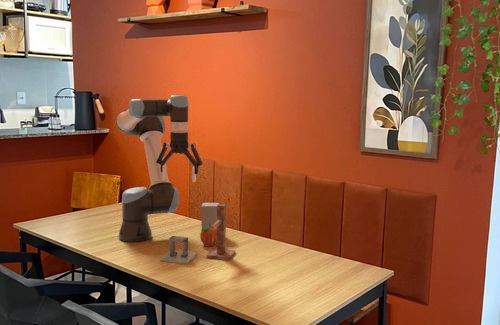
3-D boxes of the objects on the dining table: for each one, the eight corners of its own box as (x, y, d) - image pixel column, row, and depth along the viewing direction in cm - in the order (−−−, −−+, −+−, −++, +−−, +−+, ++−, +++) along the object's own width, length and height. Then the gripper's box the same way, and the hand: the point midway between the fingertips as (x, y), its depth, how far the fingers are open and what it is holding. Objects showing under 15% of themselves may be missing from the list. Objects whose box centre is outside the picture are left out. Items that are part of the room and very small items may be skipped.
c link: (169, 256, 211) (169, 237, 210) (172, 254, 214) (172, 235, 213) (185, 257, 210) (185, 239, 208) (188, 255, 212) (188, 237, 211)
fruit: (223, 244, 230) (223, 223, 229) (208, 249, 223) (208, 227, 222) (210, 240, 236) (210, 220, 234) (195, 245, 229) (195, 223, 228)
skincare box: (220, 233, 247) (220, 202, 245) (217, 238, 240) (218, 205, 238) (203, 233, 248) (203, 201, 246) (200, 237, 241) (200, 205, 238)
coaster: (159, 261, 207) (159, 259, 207) (171, 252, 219) (171, 250, 219) (187, 263, 205) (187, 262, 205) (197, 254, 216) (197, 252, 216)
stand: (200, 263, 205) (200, 211, 202) (213, 250, 222) (213, 201, 219) (224, 266, 203) (224, 213, 200) (235, 252, 220) (236, 203, 216)
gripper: (148, 131, 215) (149, 180, 218) (204, 133, 209) (204, 183, 212) (155, 129, 222) (156, 177, 225) (209, 132, 216) (209, 180, 220)
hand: (179, 180), depth 219 cm, fingers open, 13 cm apart
